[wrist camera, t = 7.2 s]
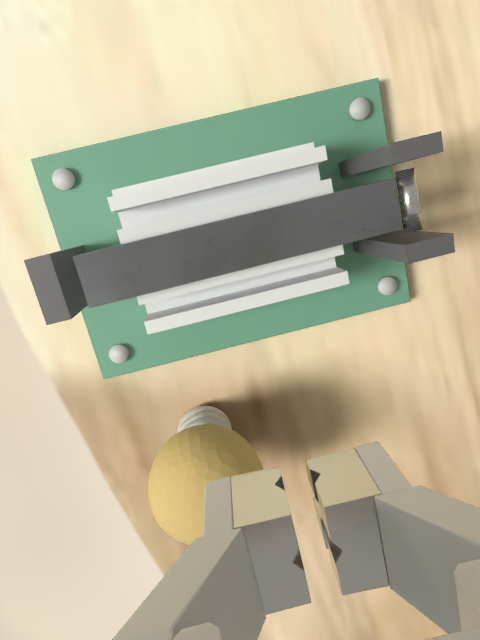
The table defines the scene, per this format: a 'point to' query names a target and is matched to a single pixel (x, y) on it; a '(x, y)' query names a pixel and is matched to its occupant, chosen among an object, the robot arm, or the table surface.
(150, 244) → the strap
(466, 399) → the table surface
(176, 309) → the board
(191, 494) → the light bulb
